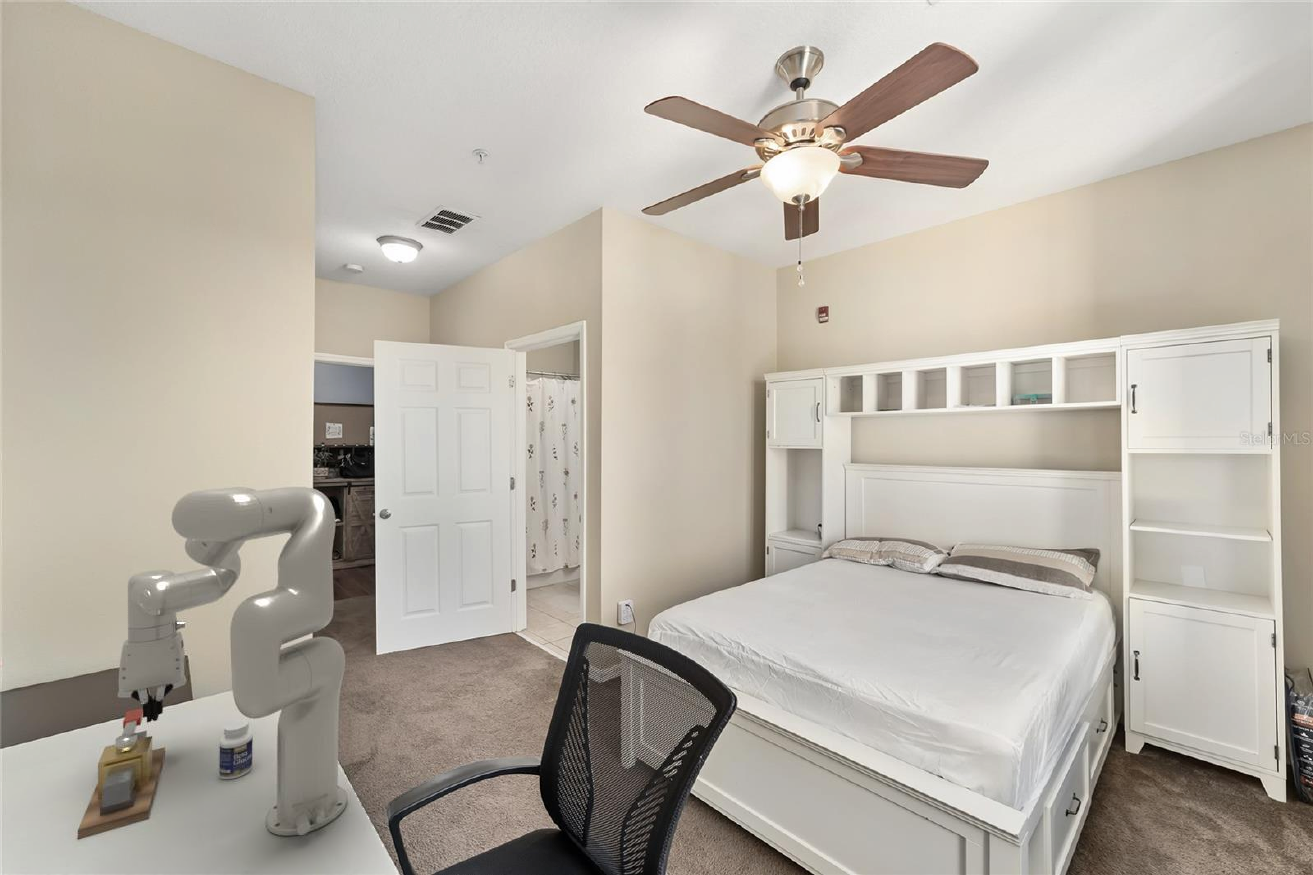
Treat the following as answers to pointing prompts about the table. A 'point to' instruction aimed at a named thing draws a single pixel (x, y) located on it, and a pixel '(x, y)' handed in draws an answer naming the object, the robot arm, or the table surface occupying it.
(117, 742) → the lever
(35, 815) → the table surface
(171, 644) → the robot arm
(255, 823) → the table surface
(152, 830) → the table surface
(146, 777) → the valve
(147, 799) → the mount board
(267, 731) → the table surface
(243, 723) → the pill bottle
